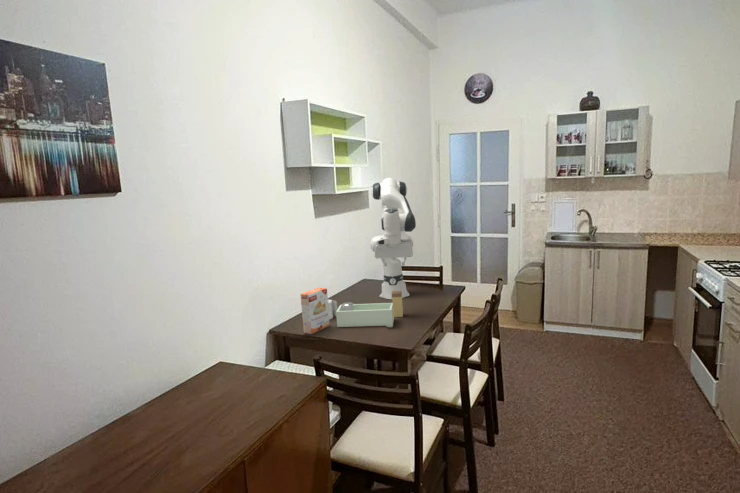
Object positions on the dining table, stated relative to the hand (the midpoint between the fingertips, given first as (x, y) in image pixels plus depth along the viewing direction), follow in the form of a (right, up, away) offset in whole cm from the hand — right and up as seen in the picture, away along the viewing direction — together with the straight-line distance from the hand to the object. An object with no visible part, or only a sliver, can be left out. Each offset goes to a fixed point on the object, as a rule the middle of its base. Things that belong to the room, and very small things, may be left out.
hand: (394, 265), depth 234 cm
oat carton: (+2, -27, +4) cm, 27 cm away
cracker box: (-40, -33, -11) cm, 52 cm away
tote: (-15, -30, -6) cm, 34 cm away
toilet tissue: (-38, -30, +7) cm, 48 cm away
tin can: (-24, -29, -5) cm, 38 cm away
